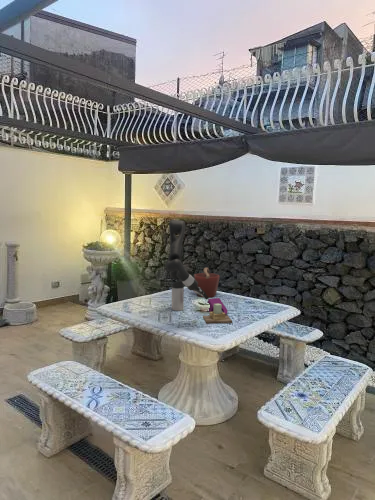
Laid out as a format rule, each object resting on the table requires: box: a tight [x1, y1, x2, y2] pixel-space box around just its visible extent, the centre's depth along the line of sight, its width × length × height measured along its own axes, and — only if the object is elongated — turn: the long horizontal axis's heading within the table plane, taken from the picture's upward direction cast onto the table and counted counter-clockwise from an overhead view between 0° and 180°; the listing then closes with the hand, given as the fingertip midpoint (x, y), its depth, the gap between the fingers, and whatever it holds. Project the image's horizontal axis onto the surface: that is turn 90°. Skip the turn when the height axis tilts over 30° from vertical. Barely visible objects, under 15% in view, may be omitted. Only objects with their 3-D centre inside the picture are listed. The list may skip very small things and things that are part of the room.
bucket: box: [193, 267, 221, 299], centre depth 332 cm, size 24×22×25 cm
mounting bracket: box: [206, 297, 229, 315], centre depth 280 cm, size 10×8×18 cm
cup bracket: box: [202, 311, 233, 325], centre depth 260 cm, size 14×18×6 cm
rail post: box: [214, 303, 222, 314], centre depth 260 cm, size 4×4×10 cm
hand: (204, 297), depth 254 cm, fingers open, 8 cm apart
